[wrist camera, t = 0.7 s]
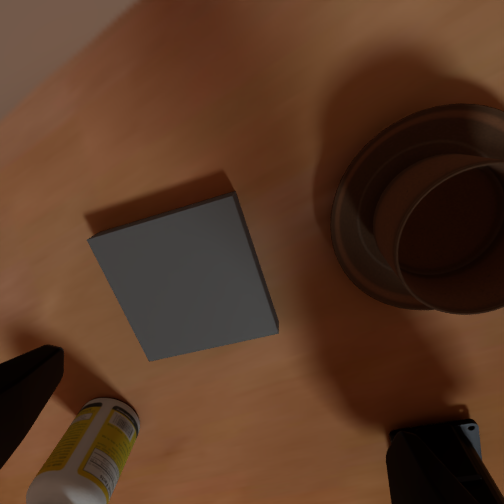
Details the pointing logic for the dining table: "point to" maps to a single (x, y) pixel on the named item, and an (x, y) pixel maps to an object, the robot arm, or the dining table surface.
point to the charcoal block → (188, 278)
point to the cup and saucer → (427, 212)
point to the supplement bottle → (88, 456)
